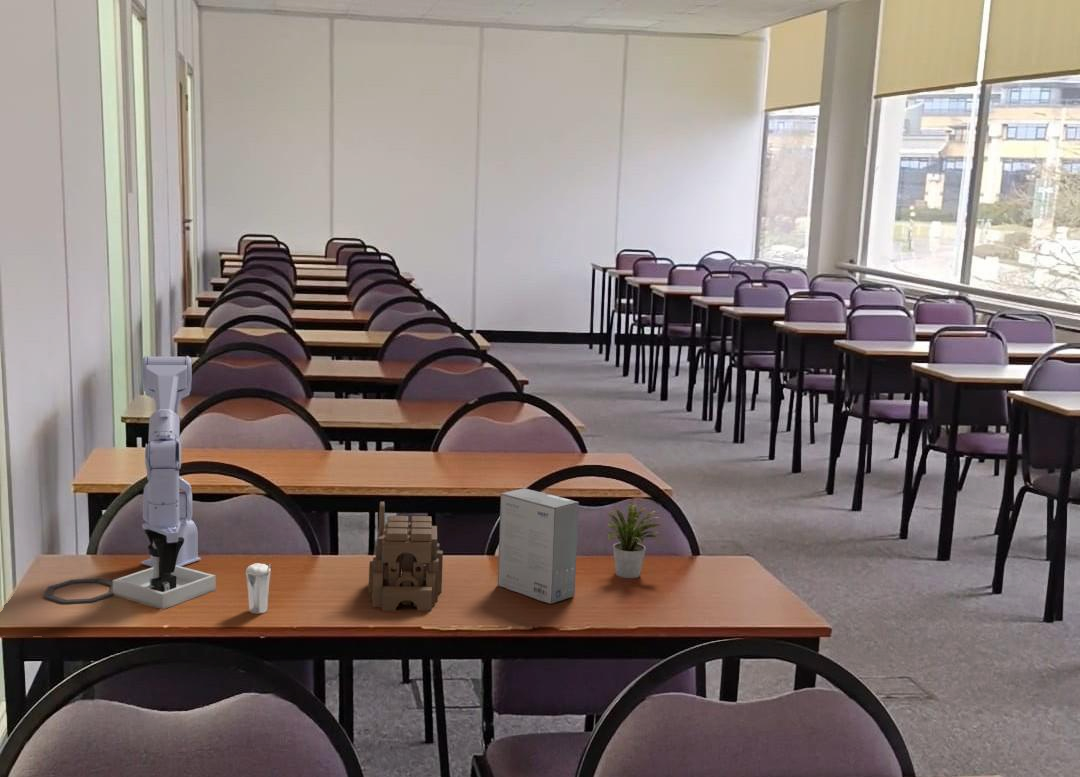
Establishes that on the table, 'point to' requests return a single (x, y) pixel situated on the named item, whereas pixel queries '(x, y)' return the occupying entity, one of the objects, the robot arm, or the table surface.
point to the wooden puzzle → (406, 563)
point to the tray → (186, 589)
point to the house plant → (630, 541)
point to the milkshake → (258, 587)
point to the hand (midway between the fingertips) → (164, 568)
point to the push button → (160, 574)
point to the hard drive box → (538, 545)
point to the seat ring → (49, 596)
